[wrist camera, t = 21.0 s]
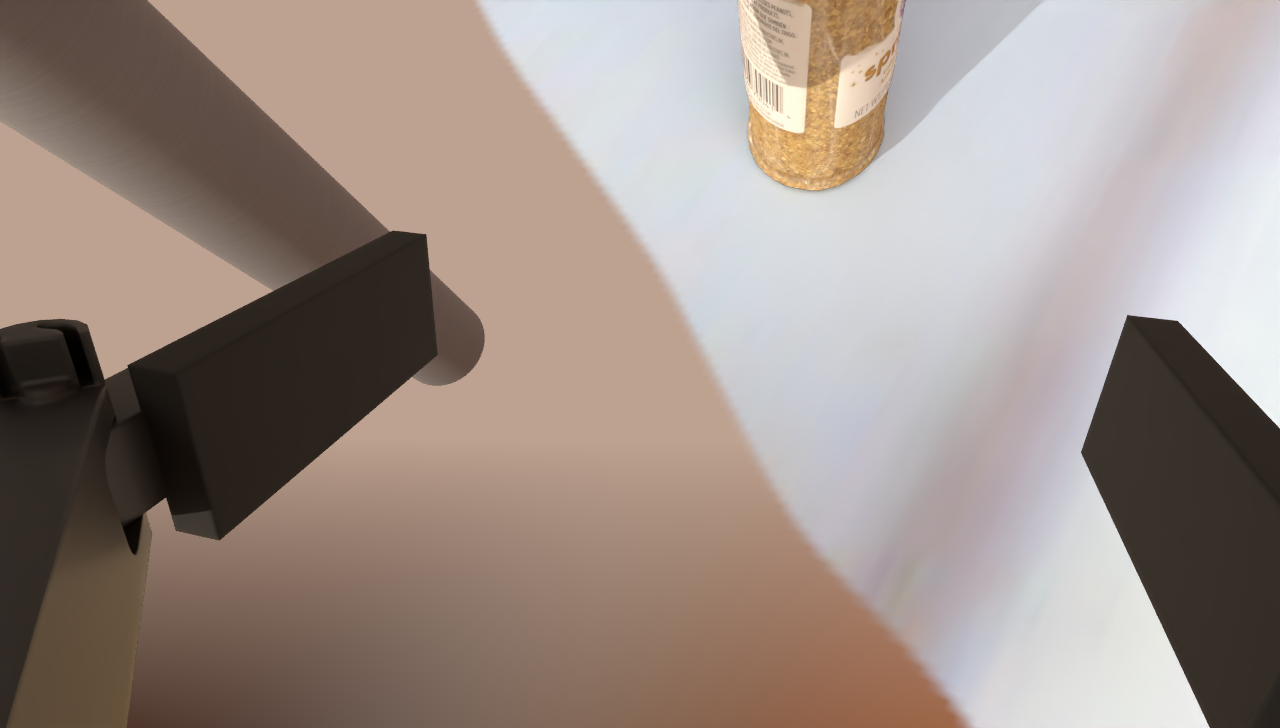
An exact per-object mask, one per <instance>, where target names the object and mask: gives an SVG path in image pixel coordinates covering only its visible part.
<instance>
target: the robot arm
mask: <svg viewBox="0 0 1280 728" xmlns="http://www.w3.org/2000/svg"><path fill="white" fill-rule="evenodd" d="M436 356H437V344H436V333H435V323H434V312H433V301H432V291H431V280H430V269H429V259H428V248H427V238H426V234H418V233H409V232H400V231H392V232H389V233H387V234H385V235H383V236H381V237H379V238H377V239H375V240H373V241H371V242H369V243H367V244H366V245H364V246H362V247H360V248H358V249H356V250H354V251H352V252H350V253H348V254H346V255H344V256H342V257H340V258H338V259H336V260H334V261H332V262H330V263H328V264H326V265H324V266H322V267H320V268H318V269H316V270H314V271H312V272H310V273H308V274H306V275H304V276H302V277H300V278H299V279H297V280H295V281H293V282H291V283H289V284H287V285H285V286H283V287H281V288H279V289H277V290H275V291H273V292H271V293H269V294H267V295H265V296H263V297H261V298H259V299H257V300H255V301H253V302H251V303H249V304H247V305H245V306H243V307H242V308H239V309H237V310H235V311H233V312H232V313H230V314H228V315H226V316H224V317H222V318H220V319H218V320H216V321H214V322H212V323H210V324H208V325H206V326H204V327H202V328H200V329H198V330H196V331H194V332H192V333H190V334H188V335H186V336H184V337H182V338H180V339H178V340H177V341H174V342H172V343H171V344H168V345H167V346H165V347H163V348H161V349H159V350H157V351H155V352H153V353H151V354H149V355H147V356H145V357H143V358H141V359H139V360H137V361H135V362H133V363H131V364H129V365H128V368H127V369H125V370H123V371H121V372H119V373H117V374H115V375H113V376H111V377H109V378H107V379H105V380H104V377H103V373H102V370H101V367H100V364H99V361H98V357H97V354H96V351H95V348H94V345H93V341H92V338H91V335H90V332H89V329H88V326H87V324H84V323H82V322H80V321H77V320H66V319H53V320H39V321H33V322H27V323H21V324H16V325H13V326H9V327H5V328H2V329H0V728H126V727H127V720H128V712H129V705H130V697H131V689H132V682H133V674H134V667H135V659H136V652H137V643H138V636H139V629H140V621H141V614H142V606H143V598H144V591H145V582H146V576H147V568H148V561H149V553H150V546H151V538H152V531H151V528H150V524H149V521H148V518H147V515H146V511H148V510H149V509H151V508H152V507H153V506H155V505H156V504H158V503H159V502H160V501H162V500H163V499H164V498H167V502H168V505H169V508H170V512H171V515H172V519H173V522H174V526H175V529H176V531H180V532H185V533H189V534H193V535H198V536H202V537H207V538H211V539H216V540H221V539H222V538H223V537H224V536H225V535H226V534H227V533H229V532H230V531H231V530H232V529H234V528H235V527H236V526H237V525H238V524H239V523H241V522H242V521H243V520H244V519H245V518H246V517H248V516H249V515H250V514H251V513H252V512H253V511H255V510H256V509H257V508H258V507H259V506H260V505H262V504H263V503H264V502H265V501H266V500H268V499H269V498H270V497H271V496H272V495H273V494H274V493H276V492H277V491H278V490H279V489H281V488H282V487H283V486H284V485H285V484H286V483H288V482H289V481H290V480H291V479H292V478H293V477H295V476H296V475H297V474H298V473H299V472H300V471H301V470H303V469H304V468H305V467H306V466H307V465H309V464H310V463H311V462H312V461H313V460H315V459H316V458H317V457H318V456H319V455H320V454H322V453H323V452H324V451H325V450H326V449H328V448H329V447H330V446H331V445H332V444H333V443H334V442H336V441H337V440H338V439H339V438H340V437H341V436H343V435H344V434H345V433H346V432H347V431H349V430H350V429H351V428H352V427H353V426H354V425H356V424H357V423H358V422H359V421H360V420H362V419H363V418H364V417H365V416H366V415H367V414H369V412H371V411H372V410H373V409H375V408H376V407H377V406H378V405H379V404H380V403H382V402H383V401H384V400H385V399H386V398H387V397H389V396H390V395H391V394H392V393H393V392H394V391H395V390H397V389H398V388H399V387H400V386H401V385H403V384H404V383H405V382H406V381H407V380H409V379H410V378H411V377H412V376H413V375H414V374H416V373H417V372H418V371H419V370H420V369H422V368H423V367H424V366H425V365H426V364H427V363H429V362H430V361H431V360H432V359H433V358H434V357H436ZM1081 453H1082V456H1083V458H1084V460H1085V462H1086V464H1087V466H1088V468H1089V471H1090V473H1091V475H1092V477H1093V479H1094V481H1095V483H1096V486H1097V488H1098V490H1099V492H1100V494H1101V496H1102V498H1103V500H1104V503H1105V505H1106V507H1107V509H1108V511H1109V513H1110V515H1111V518H1112V520H1113V522H1114V524H1115V526H1116V528H1117V530H1118V533H1119V535H1120V537H1121V539H1122V541H1123V543H1124V545H1125V547H1126V550H1127V552H1128V554H1129V556H1130V558H1131V560H1132V562H1133V565H1134V567H1135V569H1136V571H1137V573H1138V575H1139V577H1140V579H1141V582H1142V584H1143V586H1144V588H1145V590H1146V592H1147V594H1148V597H1149V599H1150V601H1151V603H1152V605H1153V607H1154V609H1155V612H1156V614H1157V616H1158V618H1159V620H1160V622H1161V624H1162V626H1163V629H1164V631H1165V633H1166V635H1167V637H1168V639H1169V641H1170V644H1171V646H1172V648H1173V650H1174V652H1175V654H1176V656H1177V659H1178V661H1179V663H1180V665H1181V667H1182V669H1183V671H1184V673H1185V676H1186V678H1187V680H1188V682H1189V684H1190V686H1191V688H1192V691H1193V693H1194V695H1195V697H1196V699H1197V701H1198V703H1199V706H1200V708H1201V710H1202V712H1203V714H1204V716H1205V718H1206V720H1207V723H1208V725H1209V727H1210V728H1280V428H1279V427H1278V426H1277V425H1276V424H1275V423H1274V422H1273V421H1272V420H1271V419H1270V418H1269V417H1268V416H1267V415H1266V414H1265V413H1264V411H1263V410H1262V409H1261V408H1260V407H1259V406H1258V405H1257V404H1256V403H1255V402H1254V401H1253V400H1252V399H1251V398H1250V397H1249V396H1248V395H1247V394H1246V392H1245V391H1244V390H1243V389H1242V388H1241V387H1240V386H1239V385H1238V384H1237V383H1236V382H1235V381H1234V380H1233V379H1232V378H1231V377H1230V376H1229V375H1228V374H1227V372H1226V371H1225V370H1224V369H1223V368H1222V367H1221V366H1220V365H1219V364H1218V363H1217V362H1216V361H1215V360H1214V359H1213V358H1212V357H1211V356H1210V355H1209V353H1208V352H1207V351H1206V350H1205V349H1204V348H1203V347H1202V346H1201V345H1200V344H1199V343H1198V342H1197V341H1196V340H1195V339H1194V338H1193V337H1192V336H1191V334H1190V333H1189V332H1188V331H1187V330H1186V329H1185V328H1184V327H1183V326H1182V325H1181V324H1180V323H1179V322H1178V321H1173V320H1164V319H1155V318H1147V317H1138V316H1129V315H1127V318H1126V321H1125V324H1124V327H1123V330H1122V333H1121V336H1120V339H1119V342H1118V345H1117V348H1116V351H1115V354H1114V357H1113V360H1112V363H1111V365H1110V368H1109V371H1108V374H1107V377H1106V380H1105V383H1104V386H1103V389H1102V392H1101V395H1100V398H1099V401H1098V404H1097V407H1096V410H1095V413H1094V416H1093V419H1092V422H1091V425H1090V428H1089V430H1088V433H1087V436H1086V439H1085V442H1084V445H1083V448H1082V451H1081Z"/></svg>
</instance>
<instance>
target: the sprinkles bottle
mask: <svg viewBox="0 0 1280 728" xmlns="http://www.w3.org/2000/svg"><path fill="white" fill-rule="evenodd" d="M904 6H905V0H738V8H739V20H740V31H741V43H742V54H743V65H744V77H745V85H746V90H747V93H748V96H749V107H750V117H749V122H748V141H749V144H750V150H751V152H752V154H753V156H754V158H755V161H756V162H757V164H758V165H759V166H760V168H761V169H763V170H764V171H765V172H766V173H767V174H768V175H769V176H770V177H771V178H773V179H774V180H776V181H778V182H780V183H782V184H784V185H787V186H790V187H795V188H801V189H806V190H822V189H826V188H832V187H835V186H838V185H840V184H843V183H844V182H846V181H847V180H849V179H851V178H853V177H854V176H856V175H858V174H859V173H861V172H862V171H863V169H865V168H866V167H867V166H868V165H869V164H870V163H871V161H872V160H873V159H874V157H875V155H876V154H877V152H878V149H879V147H880V145H881V142H882V139H883V137H884V122H885V121H884V109H885V103H886V99H887V94H888V87H889V85H890V82H891V79H892V75H893V70H894V65H895V59H896V53H897V47H898V41H899V35H900V29H901V22H902V17H903V12H904Z"/></svg>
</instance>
